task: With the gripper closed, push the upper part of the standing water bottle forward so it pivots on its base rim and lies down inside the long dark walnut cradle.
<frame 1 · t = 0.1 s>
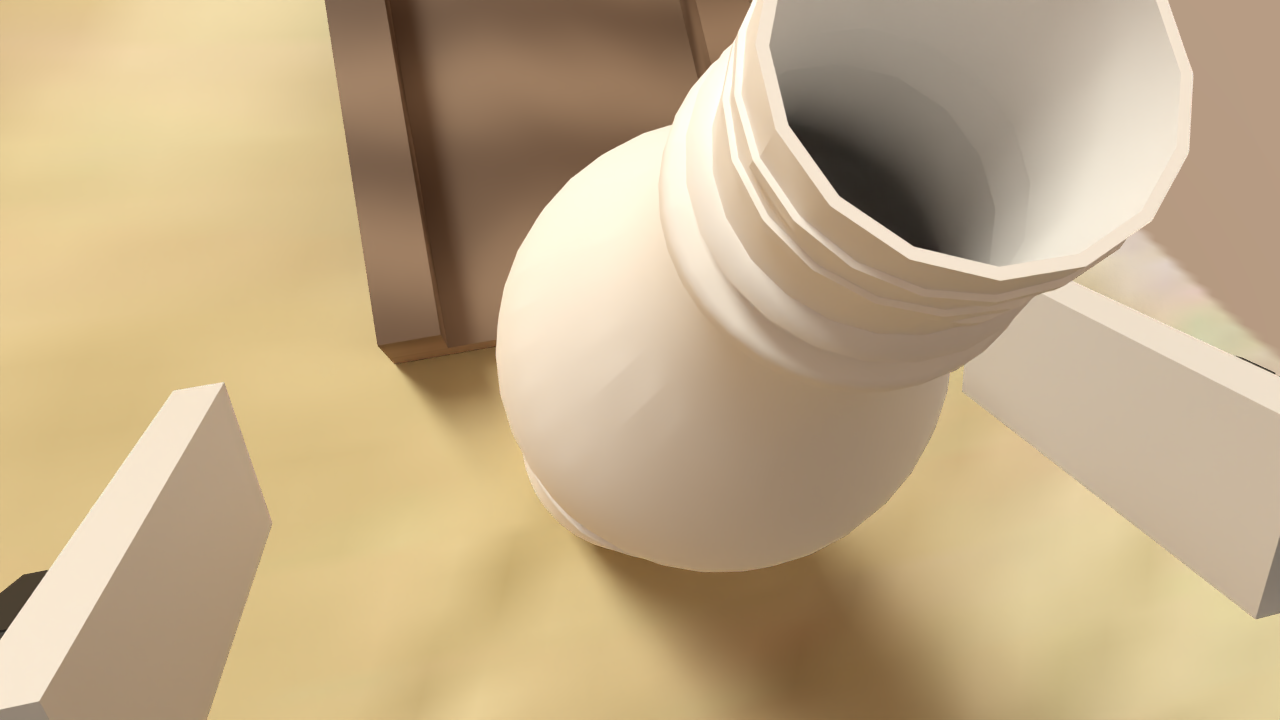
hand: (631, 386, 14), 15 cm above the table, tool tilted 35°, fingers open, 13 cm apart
water bottle: (625, 447, 30), on the table
walnut cradle: (541, 37, 33), on the table
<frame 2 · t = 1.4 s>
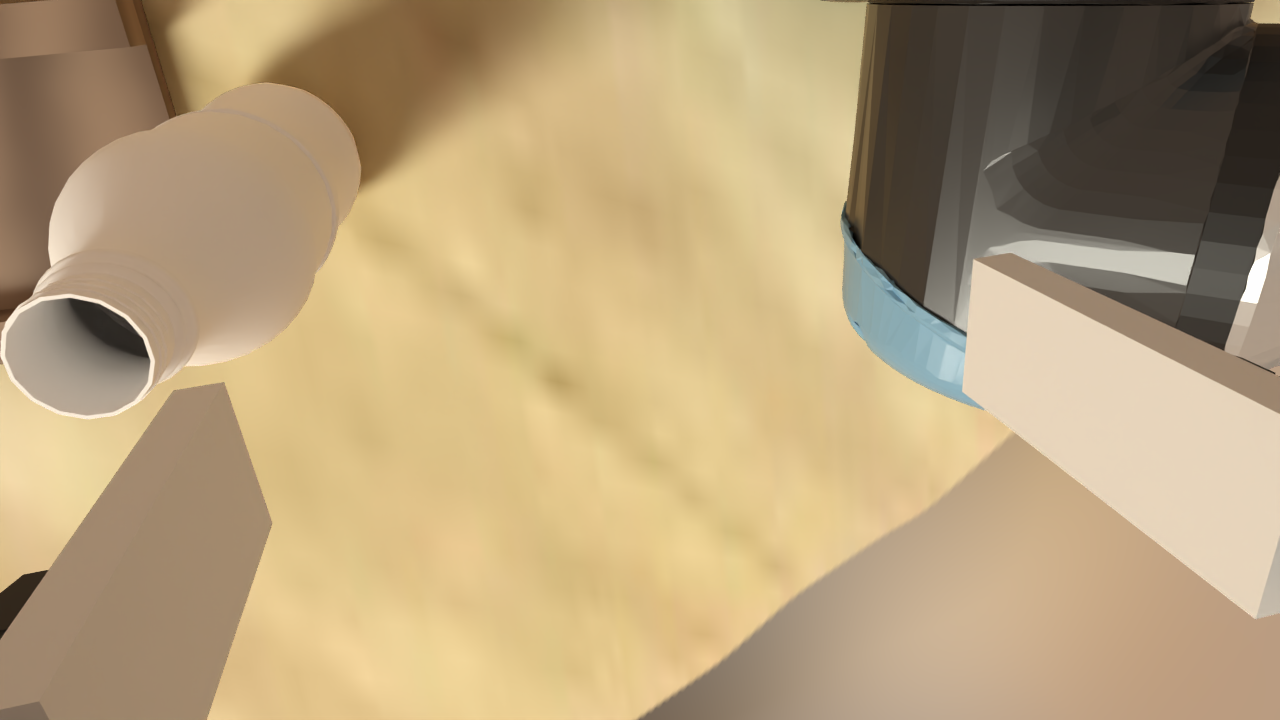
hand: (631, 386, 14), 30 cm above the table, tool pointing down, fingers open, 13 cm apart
water bottle: (290, 153, 40), on the table
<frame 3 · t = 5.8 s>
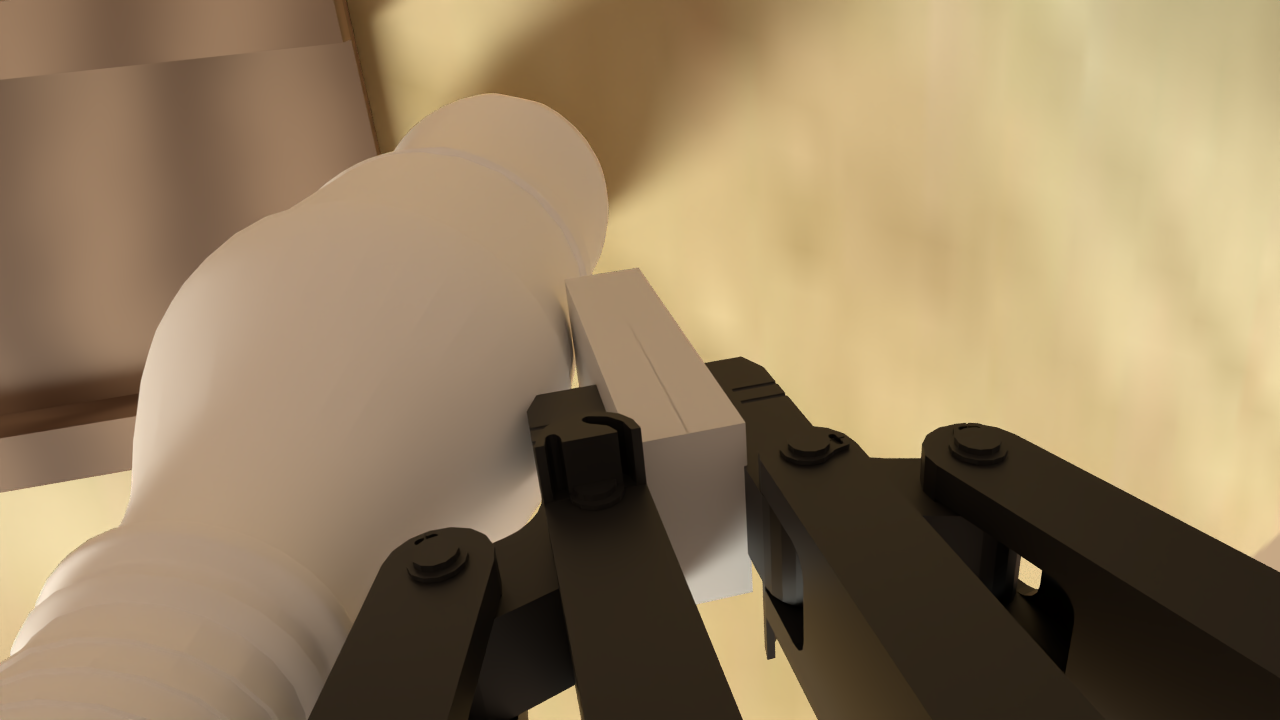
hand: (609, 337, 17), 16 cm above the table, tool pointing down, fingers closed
water bottle: (514, 185, 30), on the table, touching gripper
walnut cradle: (33, 248, 28), on the table
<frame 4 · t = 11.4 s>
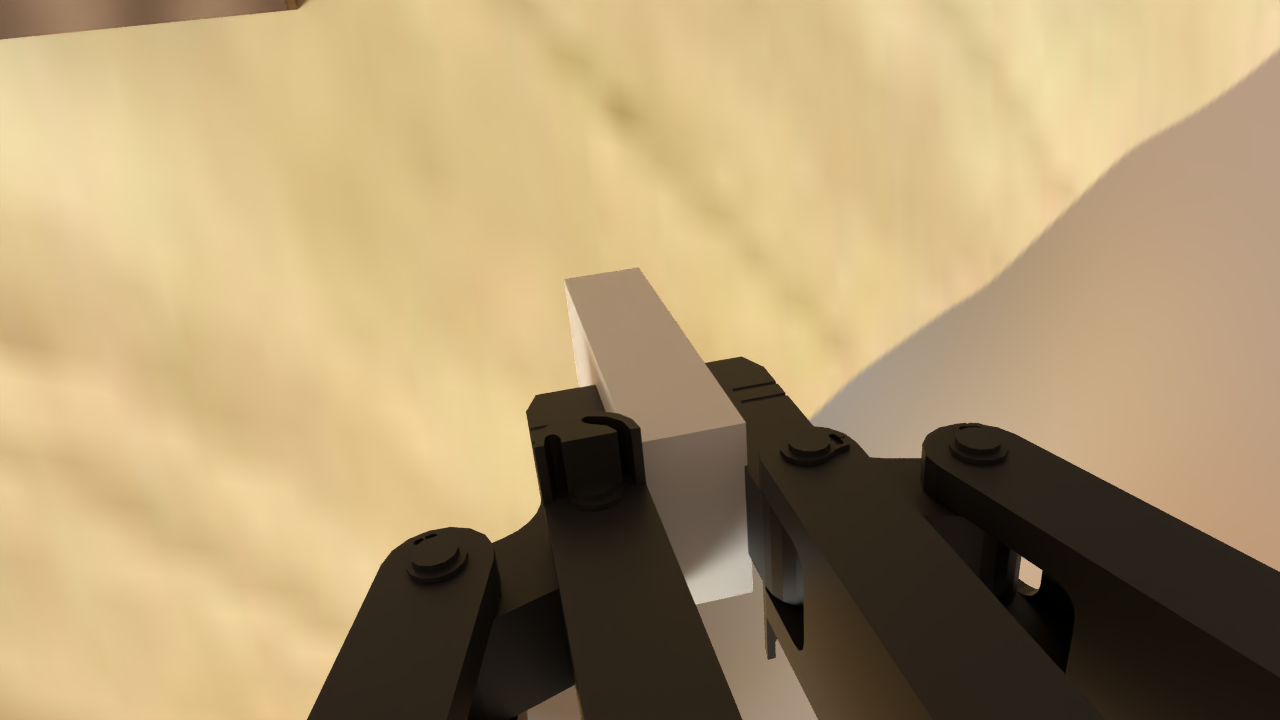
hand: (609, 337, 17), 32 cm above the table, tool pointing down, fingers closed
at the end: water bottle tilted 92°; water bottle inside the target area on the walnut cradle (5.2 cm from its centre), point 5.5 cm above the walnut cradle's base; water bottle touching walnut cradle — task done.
